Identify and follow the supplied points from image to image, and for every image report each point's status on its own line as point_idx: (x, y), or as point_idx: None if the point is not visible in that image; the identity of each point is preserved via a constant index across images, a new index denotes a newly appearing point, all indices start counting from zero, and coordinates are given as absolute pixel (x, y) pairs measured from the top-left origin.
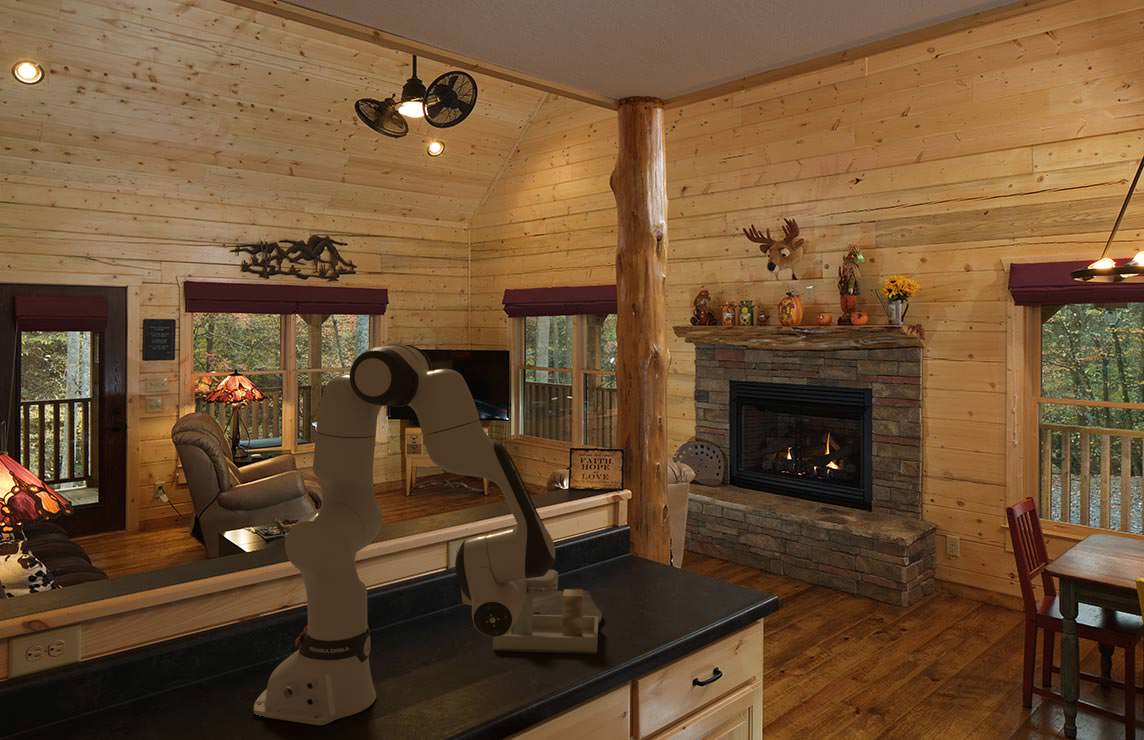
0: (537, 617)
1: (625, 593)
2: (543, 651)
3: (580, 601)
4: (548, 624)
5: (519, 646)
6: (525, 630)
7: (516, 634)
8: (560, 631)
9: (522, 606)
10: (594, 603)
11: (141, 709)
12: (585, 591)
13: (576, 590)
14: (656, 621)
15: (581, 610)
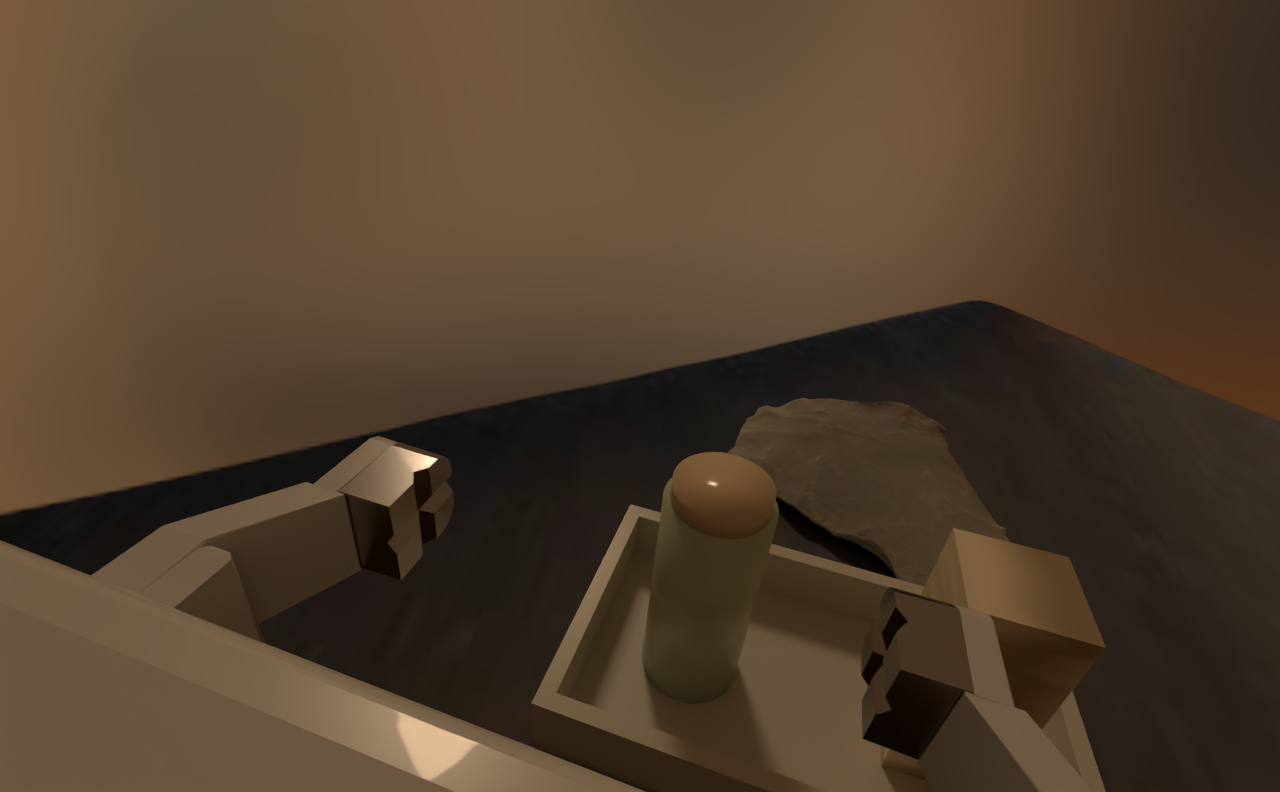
0: (769, 559)
1: (1038, 435)
2: None
3: (1077, 665)
4: (809, 591)
5: (660, 782)
6: (706, 672)
7: (662, 670)
8: (859, 644)
9: (708, 588)
10: (968, 482)
11: None
12: (927, 420)
13: (1031, 557)
14: (1255, 641)
15: (1058, 701)
